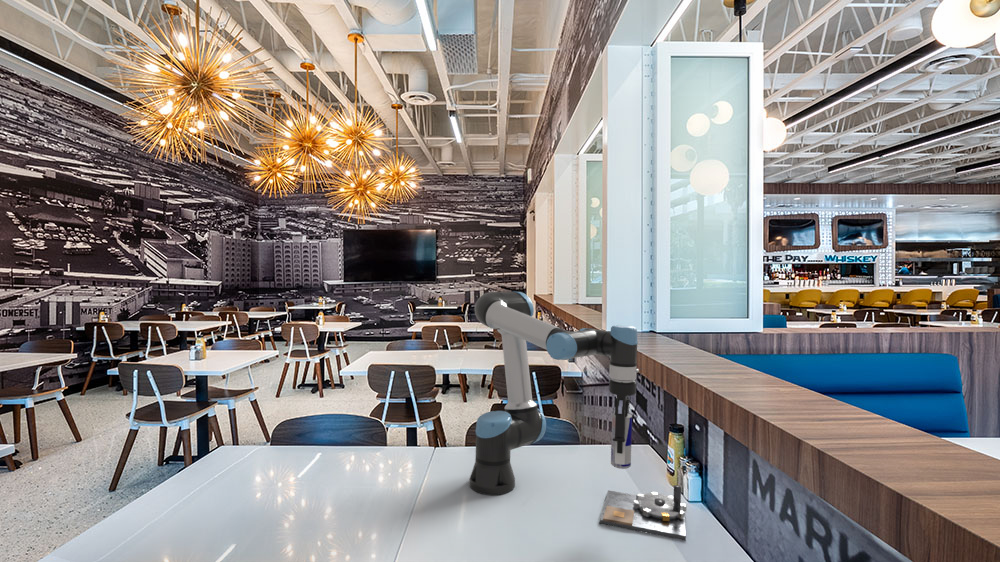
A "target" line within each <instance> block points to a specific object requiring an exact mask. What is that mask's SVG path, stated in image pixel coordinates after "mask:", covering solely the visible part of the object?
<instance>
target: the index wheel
mask: <svg viewBox="0 0 1000 562" xmlns="http://www.w3.org/2000/svg"><path fill="white" fill-rule="evenodd" d="M635 495H636V500H637V501H636V500H634V508H638V509H639V510H640V511H641V512H643V515H644V516H646V517H649V516H651V517H655V518H659V519H662V520H663V521H669V519H676V518H679V519H683V518H684V517H685V518H686V516H685V514H686V512H687V505H686V503H684V502H682V486H681V485H678V484H676V485H675V484H674V485H673V495H671V494H670V495H667V494H662V493H658V492H657V491H651V492H650V493H638V494H635ZM683 511H684V512H683Z"/></svg>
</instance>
